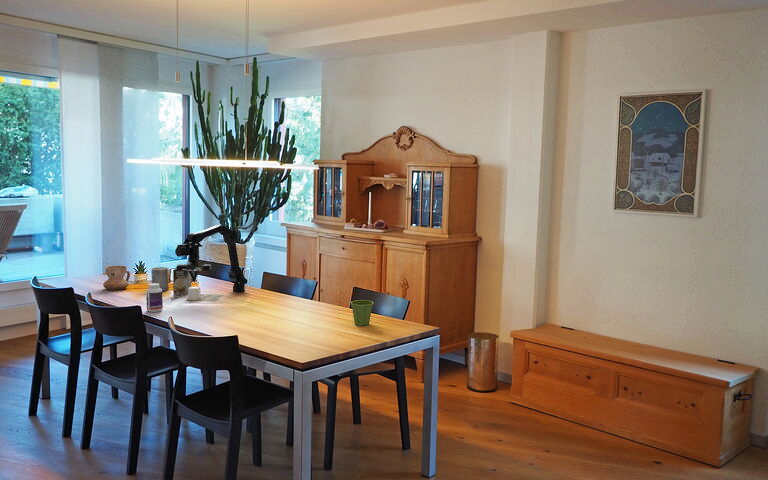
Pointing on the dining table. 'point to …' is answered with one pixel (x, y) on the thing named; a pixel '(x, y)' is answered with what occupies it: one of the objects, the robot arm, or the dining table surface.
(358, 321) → the plant pot
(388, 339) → the dining table surface
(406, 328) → the dining table surface
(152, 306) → the pill bottle
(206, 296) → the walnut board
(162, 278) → the pillar candle
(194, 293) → the white rectangular block
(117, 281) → the ceramic jug
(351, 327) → the dining table surface
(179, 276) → the coffee box
